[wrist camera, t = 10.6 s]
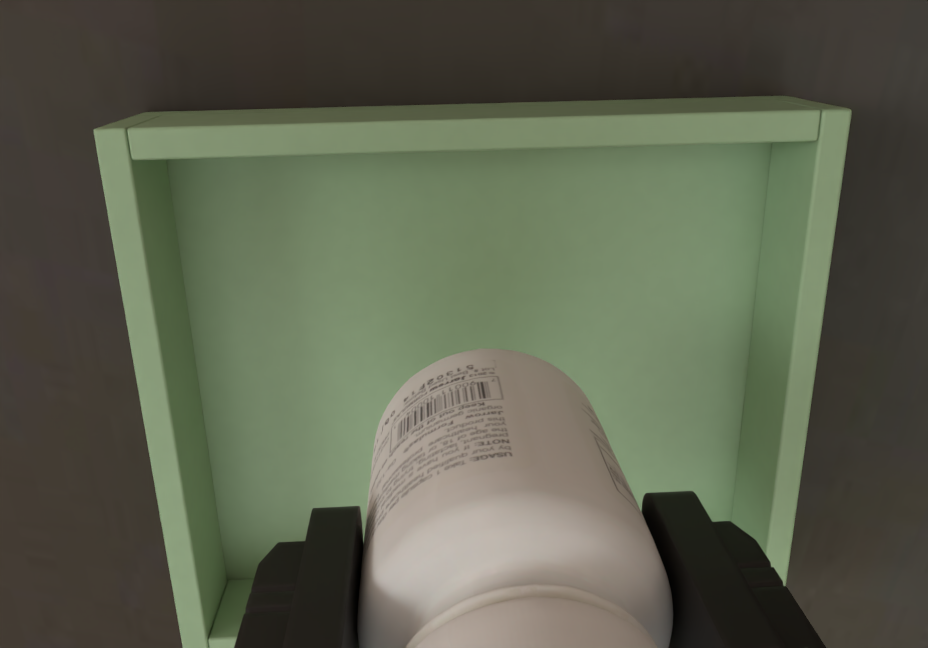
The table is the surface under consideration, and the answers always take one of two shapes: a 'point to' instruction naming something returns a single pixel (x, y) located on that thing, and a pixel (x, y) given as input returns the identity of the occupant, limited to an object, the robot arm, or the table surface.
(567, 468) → the pill bottle
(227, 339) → the sage tray
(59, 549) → the table surface
